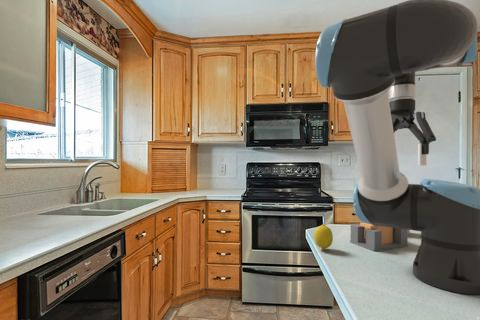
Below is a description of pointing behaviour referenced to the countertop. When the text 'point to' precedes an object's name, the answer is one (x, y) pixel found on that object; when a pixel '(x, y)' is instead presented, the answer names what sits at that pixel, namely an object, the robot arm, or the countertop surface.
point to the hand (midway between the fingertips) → (401, 165)
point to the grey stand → (377, 238)
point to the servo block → (386, 232)
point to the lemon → (323, 237)
